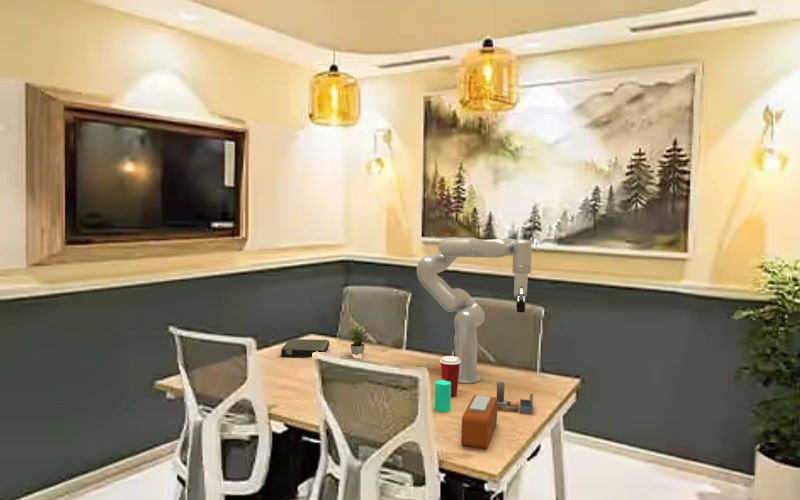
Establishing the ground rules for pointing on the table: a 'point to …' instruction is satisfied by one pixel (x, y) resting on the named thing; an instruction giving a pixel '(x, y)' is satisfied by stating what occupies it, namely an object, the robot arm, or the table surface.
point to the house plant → (357, 340)
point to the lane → (507, 408)
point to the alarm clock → (479, 421)
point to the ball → (514, 403)
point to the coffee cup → (450, 372)
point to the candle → (442, 396)
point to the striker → (500, 394)
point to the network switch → (303, 347)
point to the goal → (526, 405)
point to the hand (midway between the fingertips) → (520, 310)
